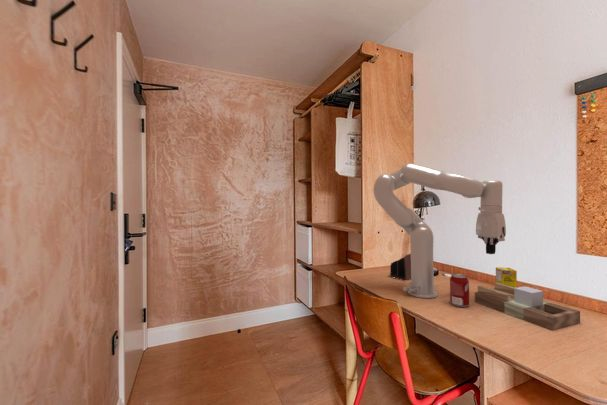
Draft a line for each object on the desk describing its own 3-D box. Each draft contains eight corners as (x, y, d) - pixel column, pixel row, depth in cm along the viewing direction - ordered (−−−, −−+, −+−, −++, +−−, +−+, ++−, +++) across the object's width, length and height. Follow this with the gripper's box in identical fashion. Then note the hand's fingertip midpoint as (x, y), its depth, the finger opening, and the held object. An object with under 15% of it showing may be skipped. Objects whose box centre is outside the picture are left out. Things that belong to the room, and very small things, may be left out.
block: (532, 307, 97) (531, 293, 97) (514, 301, 102) (514, 288, 102) (543, 304, 99) (543, 291, 99) (525, 299, 104) (525, 286, 104)
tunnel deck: (552, 330, 88) (552, 310, 88) (474, 301, 113) (474, 286, 113) (580, 322, 93) (579, 303, 93) (499, 297, 118) (499, 282, 118)
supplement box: (517, 295, 120) (517, 270, 120) (502, 294, 121) (501, 270, 121) (510, 290, 126) (509, 267, 126) (495, 290, 127) (495, 267, 127)
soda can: (462, 309, 106) (462, 278, 106) (446, 303, 112) (446, 274, 112) (473, 306, 109) (472, 276, 109) (456, 300, 115) (456, 272, 115)
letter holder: (425, 275, 156) (425, 250, 156) (405, 281, 144) (405, 255, 144) (410, 271, 164) (409, 248, 164) (390, 277, 152) (389, 252, 152)
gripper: (468, 209, 119) (467, 251, 119) (503, 210, 105) (502, 257, 105) (480, 209, 122) (480, 250, 122) (516, 210, 108) (515, 256, 108)
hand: (490, 253), depth 114 cm, fingers closed
